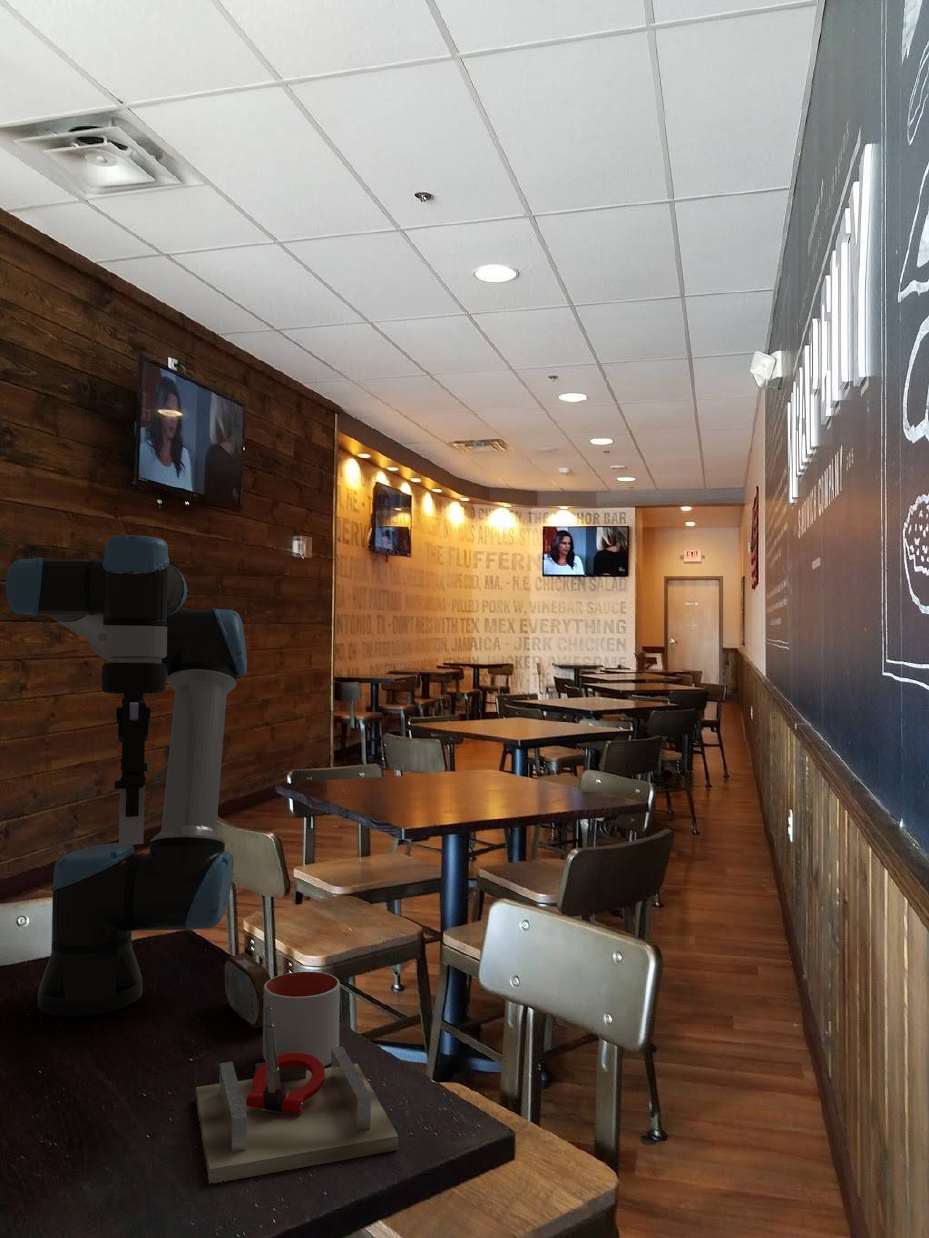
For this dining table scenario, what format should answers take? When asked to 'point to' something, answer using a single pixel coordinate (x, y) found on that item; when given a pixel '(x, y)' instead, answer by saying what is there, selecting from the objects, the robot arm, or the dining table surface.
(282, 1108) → the tow hook
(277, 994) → the cup
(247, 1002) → the tin
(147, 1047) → the dining table surface
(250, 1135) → the keeper board
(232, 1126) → the keeper rails
